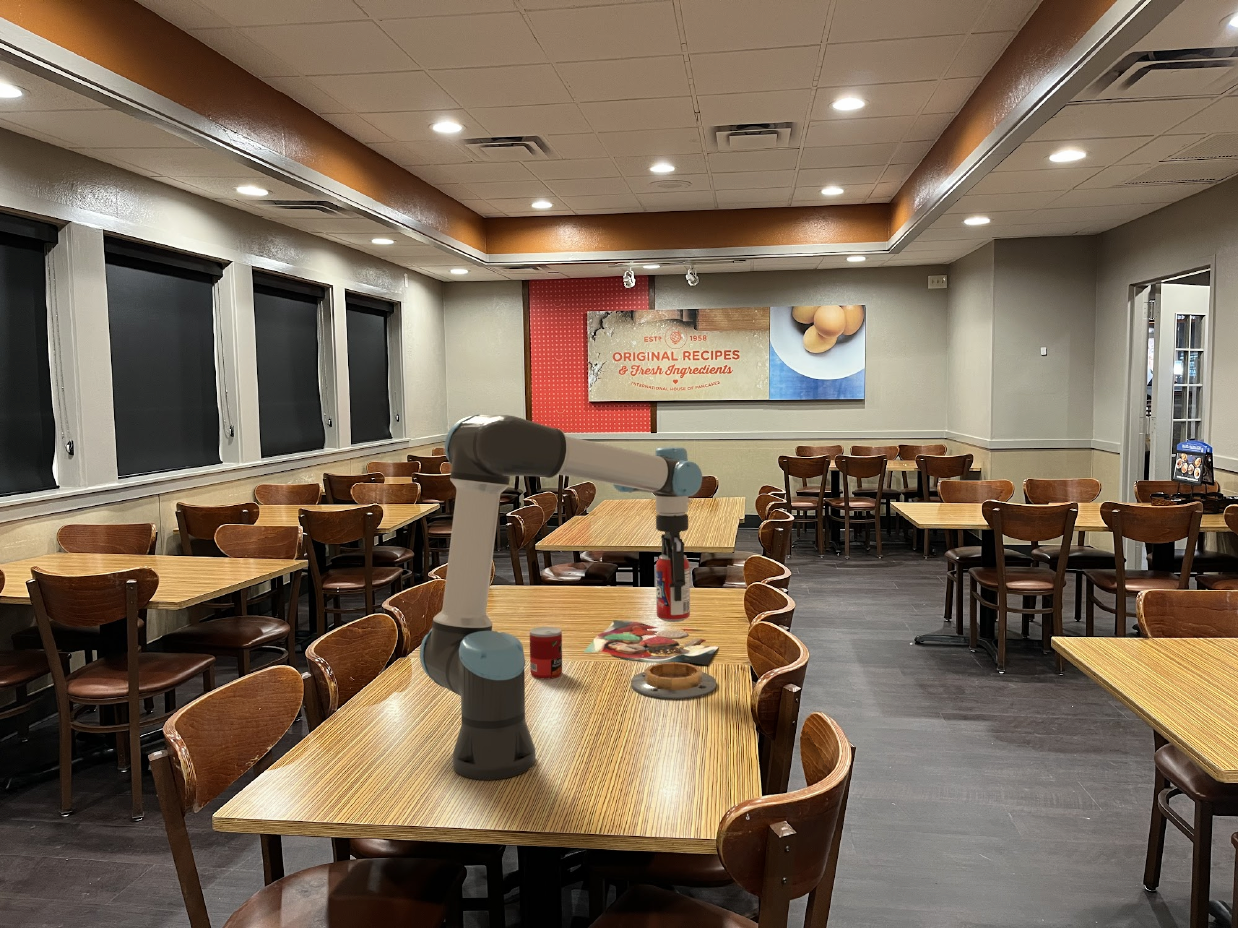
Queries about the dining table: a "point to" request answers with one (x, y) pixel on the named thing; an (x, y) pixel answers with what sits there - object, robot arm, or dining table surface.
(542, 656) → the canned food
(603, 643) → the colorful printed placemat
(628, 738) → the dining table surface
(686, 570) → the soda can
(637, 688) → the bolted flange plate
